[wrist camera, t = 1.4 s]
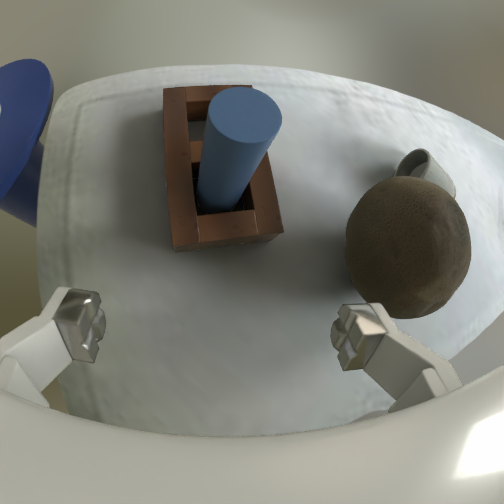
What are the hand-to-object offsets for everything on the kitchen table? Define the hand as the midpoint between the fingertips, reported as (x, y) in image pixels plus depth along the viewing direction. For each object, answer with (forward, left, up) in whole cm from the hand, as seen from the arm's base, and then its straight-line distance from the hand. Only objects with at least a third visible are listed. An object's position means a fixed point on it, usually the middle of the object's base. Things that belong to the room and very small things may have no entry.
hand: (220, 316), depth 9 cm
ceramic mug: (+34, +11, -19) cm, 40 cm away
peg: (+4, +11, -19) cm, 22 cm away
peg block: (+4, +14, -19) cm, 24 cm away
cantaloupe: (+21, +1, -19) cm, 28 cm away
